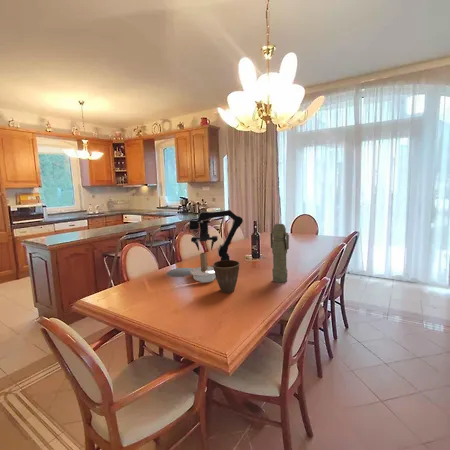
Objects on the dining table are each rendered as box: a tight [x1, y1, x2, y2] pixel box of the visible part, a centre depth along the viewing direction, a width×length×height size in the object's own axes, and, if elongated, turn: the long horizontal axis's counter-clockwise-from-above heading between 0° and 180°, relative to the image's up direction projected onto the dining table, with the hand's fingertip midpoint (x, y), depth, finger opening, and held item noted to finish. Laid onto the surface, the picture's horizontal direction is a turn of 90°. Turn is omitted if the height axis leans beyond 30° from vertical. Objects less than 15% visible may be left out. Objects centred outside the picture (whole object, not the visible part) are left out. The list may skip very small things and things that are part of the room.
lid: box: [190, 252, 215, 276], centre depth 183 cm, size 18×18×12 cm
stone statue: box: [269, 223, 290, 284], centre depth 173 cm, size 9×12×35 cm
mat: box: [166, 267, 194, 278], centre depth 197 cm, size 20×20×1 cm
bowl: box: [192, 274, 216, 284], centre depth 184 cm, size 14×14×5 cm
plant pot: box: [212, 259, 240, 294], centre depth 162 cm, size 15×15×16 cm
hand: (205, 250), depth 206 cm, fingers open, 9 cm apart
